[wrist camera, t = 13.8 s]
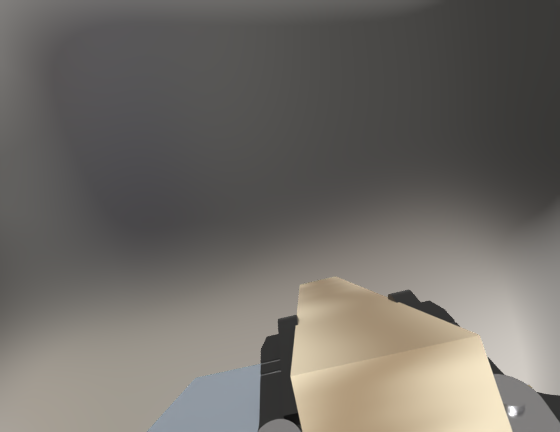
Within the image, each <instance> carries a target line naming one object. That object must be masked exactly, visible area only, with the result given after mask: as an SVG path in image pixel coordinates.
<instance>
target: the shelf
mask: <svg viewBox="0 0 560 432" xmlns="http://www.w3.org/2000/svg"><path fill="white" fill-rule="evenodd" d="M260 369H261V364H258V365H253V366H248V367H244V368H239V369H234V370H230V371H226V372H221V373H216V374H211V375H207V376H202V377H197V378H195V379H194V380H193V381H192V382H191V384H190V385H189V386H188V387H187V388H186V389H185V390H184V391H183V392H182V393H181V394H180V396H179V397H178V398H177V399H176V400H175V401H174V402H173V403H172V404H171V406H170V407H169V408H168V409H167V410H166V411H165V412H164V413H163V414H162V416H161V417H160V418H159V419H158V420H157V421H156V422H155V423H154V424H153V425H152V427H151V428H150V429H149V430H148V431H147V432H258V427H259V410H260V377H261V374H260Z"/></svg>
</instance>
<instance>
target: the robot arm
mask: <svg viewBox="0 0 560 432" xmlns="http://www.w3.org/2000/svg"><path fill="white" fill-rule="evenodd" d="M388 299H389V300H391V301H394V302H396V303H398V302H400V303H402V304H405V305H407V306H410V307H412V308H415V309H417V310H419V311H422V312H424V313H427V314H429V315H432V316H434V317H437V318H439V319H441V320H444V321H446V322H449V323H451V324H454V325H456V326H459V325H458V324H457V323H455V321H454V319H453V318H452V317H451V316H450V315H449V314H448V313H447V312H446V311H445V310H444V309H443V308H441V307H440V306H438V305H436V304H434V303H432V302H431V301H426V302H420V301H419V300H418V299H417V298H416V296H415V295H414V294H413V293H412V292H411V291H410V290H405V291H401V292H396V293H392V294H389V295H388ZM296 325H298V316H297V315H293V316H289V317H285V318H280V319H278V331H279V334H277V335H272V336H268V337H267V338H266V340H265V342H264V344H263V346H262V348H261V369H260V374H261V377H260V410H259V427H258V432H302V427H301V423H300V418H299V414H298V409H297V404H296V400H295V395H294V391H293V386H292V381H291V377H290V375H291V366H292V356H293V347H294V337H295V328H296ZM459 327H460V326H459ZM487 358H488V357H487ZM488 361H489V364H490V367H491V370H492V373H493V376H494V378H495V381H496V384H497V387H498V390H499V393H500V396H501V399H502V402H503V405H504V408H505V411H506V414H507V417H508V420H509V423H510V426H511V429H512V432H560V396H558V395H549V394H543V393H539V392H536V391H535V390H534V389H532V388H531V387H530V386H528V385H527V384H525V383H524V382H522V381H520V380H518V379H515V378H513V377H510V376H506V375H504V374H503V373H502V372H501V371H500V370H499V369H498V368H497V366H496V365H495V364H494V363H493V362H492V361H491V360H490V359H489V358H488Z"/></svg>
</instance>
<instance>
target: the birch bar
mask: <svg viewBox="0 0 560 432" xmlns="http://www.w3.org/2000/svg"><path fill="white" fill-rule="evenodd" d="M297 316H298V325H296V328H295V337H294V347H293V356H292V366H291V375H290V377H291V381H292V386H293V391H294V395H295V400H296V404H297V409H298V414H299V418H300V423H301V427H302V432H512V429H511V426H510V423H509V420H508V417H507V414H506V411H505V408H504V405H503V402H502V399H501V396H500V393H499V390H498V387H497V384H496V381H495V378H494V376H493V373H492V370H491V367H490V364H489V361H488V358H487V355H486V352H485V349H484V346H483V343H482V340H481V337H480V335H478V334H476V333H473V332H471V331H468V330H466V329H464V328H461V327H459V326H456V325H454V324H451V323H449V322H446V321H444V320H441V319H439V318H437V317H434V316H432V315H429V314H427V313H424V312H422V311H419V310H417V309H415V308H412V307H410V306H407V305H405V304H402V303H400V302H398V303H396V302H394V301H391V300H389V299H388V297H385V296H383V295H380V294H378V293H375V292H373V291H370V290H368V289H365V288H363V287H360V286H358V285H356V284H353V283H351V282H348V281H346V280H343V279H341V278H338V277H331V278H327V279H323V280H318V281H314V282H309V283H305V284H301V285H300V290H299V299H298V308H297Z"/></svg>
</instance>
